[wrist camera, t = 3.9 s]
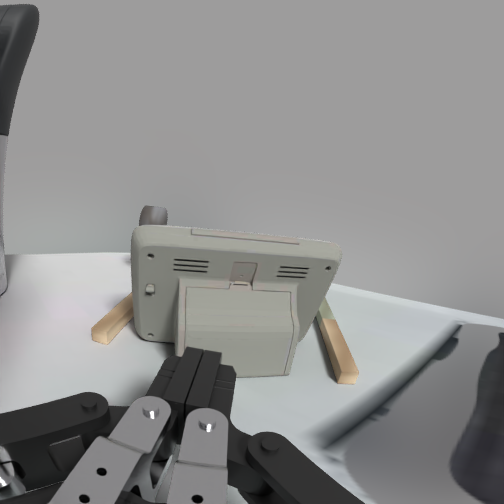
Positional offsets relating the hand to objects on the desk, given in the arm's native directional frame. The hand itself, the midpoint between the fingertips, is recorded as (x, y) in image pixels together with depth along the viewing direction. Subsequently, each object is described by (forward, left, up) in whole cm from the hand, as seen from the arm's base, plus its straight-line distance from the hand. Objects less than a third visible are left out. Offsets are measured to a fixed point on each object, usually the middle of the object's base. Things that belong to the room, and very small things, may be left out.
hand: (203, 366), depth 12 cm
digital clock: (0, +12, -7) cm, 14 cm away
